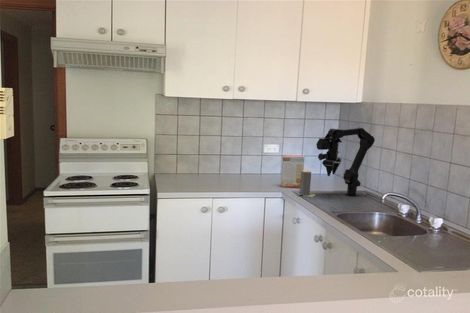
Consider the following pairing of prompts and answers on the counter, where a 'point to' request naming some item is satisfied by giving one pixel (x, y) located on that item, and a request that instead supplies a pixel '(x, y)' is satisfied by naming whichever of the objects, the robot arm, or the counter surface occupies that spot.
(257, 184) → the counter surface
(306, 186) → the chute block
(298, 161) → the cracker box
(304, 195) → the green floppy disk
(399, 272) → the counter surface
